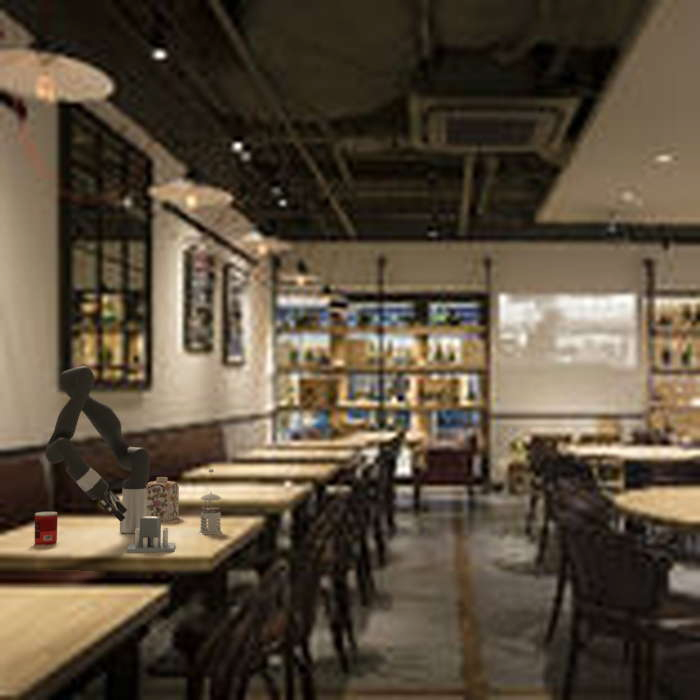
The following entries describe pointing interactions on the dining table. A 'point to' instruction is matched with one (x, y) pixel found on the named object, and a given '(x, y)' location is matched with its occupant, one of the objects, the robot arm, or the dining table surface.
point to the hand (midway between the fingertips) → (124, 515)
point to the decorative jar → (162, 499)
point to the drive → (150, 529)
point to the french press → (210, 515)
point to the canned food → (45, 528)
